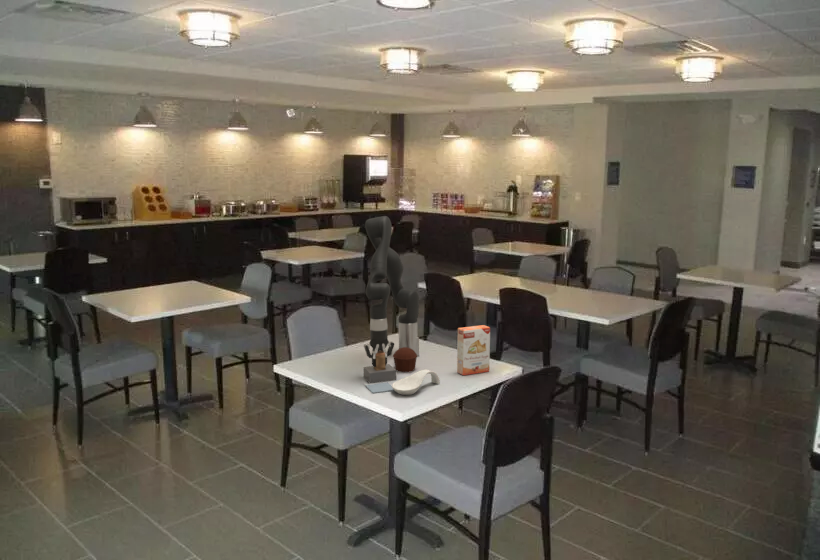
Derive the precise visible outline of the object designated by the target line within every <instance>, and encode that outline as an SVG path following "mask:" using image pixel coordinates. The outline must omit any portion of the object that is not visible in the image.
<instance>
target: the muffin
mask: <svg viewBox="0 0 820 560" xmlns="http://www.w3.org/2000/svg"><path fill="white" fill-rule="evenodd" d="M392 357H393V362H394V363H393V364H394V369H396V372H401V373H411V372H414V371H415V369H416V366H417V365H416V363H417V358H418V356H417V354H416V353H415V351H414V350H412V349H411V348H408V347H403V348H400V349H399V348H398V349H397V350H395V352H394V353H393V354H392Z"/></svg>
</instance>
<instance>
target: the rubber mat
mask: <svg viewBox="0 0 820 560" xmlns="http://www.w3.org/2000/svg"><path fill="white" fill-rule="evenodd" d="M365 387H366V389H368V391H369V392H370V393H371V394H380V393H388V392H396V391H395V390H394V389H393V388H392V384H390V383H389V381H386V382H378V383H370V384H366V385H365Z"/></svg>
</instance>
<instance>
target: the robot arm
mask: <svg viewBox="0 0 820 560" xmlns="http://www.w3.org/2000/svg"><path fill="white" fill-rule="evenodd" d="M364 226H365V230H366V231H365V232H366V234H367V236H368V238H369V240H370V242H371V244H372V246H373V248H374V250H375V252H374V253H373V255H372V256H371V261H370V275H369V279H368V282H367V285H366V287H365V295H366V297H367V298H368V299H370V300H381V302H378V303H374V304H372V305H370V307H369V308H370V309H369V312H370V313H369V314H370V321H369V322H370V323H369V331H370V332H369V334H370V340H369V342H368V343H367V344H363V348H364V350H365V353H366V356H367V357H368V358H369V359H371V366H374V367H376V359H375V358H376V354H377V351H383V352H384V353H385V366H386V364H388V357H390V356H392V355H393V354H392V353H393V350H394V348H395V347H394V346H395V343H394V342H393V341H389V340H388V334H389V333H388V327H389V326H388V319H387V317H388V316H387V315H388V314H387V311H388V310H387V307H388V301H389V298H390V296H391V295H390V294H391V292H392V296H393V300H394V303H395V305H396V306H397V307H399V308H401V309H402V308H403V309H406V312H405V313H404V314H400V315H399V316H398V349H400V348H403V347H408V348H411V349H412V350H414V351H415V353H416V354H417V357H420V337H419V336H418V318H419V311H420V310H419V309H420V295H419V292H418V291H416V290H414V289H406V288H404V286H403V283H402V276H403V273H404V265H403V262H402V259H401V258H400V255H399V253H397V251H395V250H394V249H393V248H392V247H390V244H391V237H392V231H393V230H392V229H393V228H392V222H391V219H390V218H389V217H388V216H386V215H383V216H376V217H371V218H368V219H366V220H365V224H364ZM386 278H387V280H388V282H378V281H382V280H385V279H386ZM388 283H389V284H388ZM387 346H388V348H387ZM386 348H387V349H386ZM371 349H372V350H371ZM370 350H371V352H370Z"/></svg>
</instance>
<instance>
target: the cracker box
mask: <svg viewBox="0 0 820 560" xmlns="http://www.w3.org/2000/svg"><path fill="white" fill-rule="evenodd" d="M456 346H457V349H456V350H457V356H456V358H457V359H456V360H457V361H456V365H457V366H456V369H457V370H456V371H457V372H456V373H458V374H460V375H462V376H468V375H475V374H483V373H487V372H490V356H491V355H490V354H491V349H490V348H491V327H490V326H487V325H485V324H482V325H472V326H465V327H458V328H457V345H456Z"/></svg>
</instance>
